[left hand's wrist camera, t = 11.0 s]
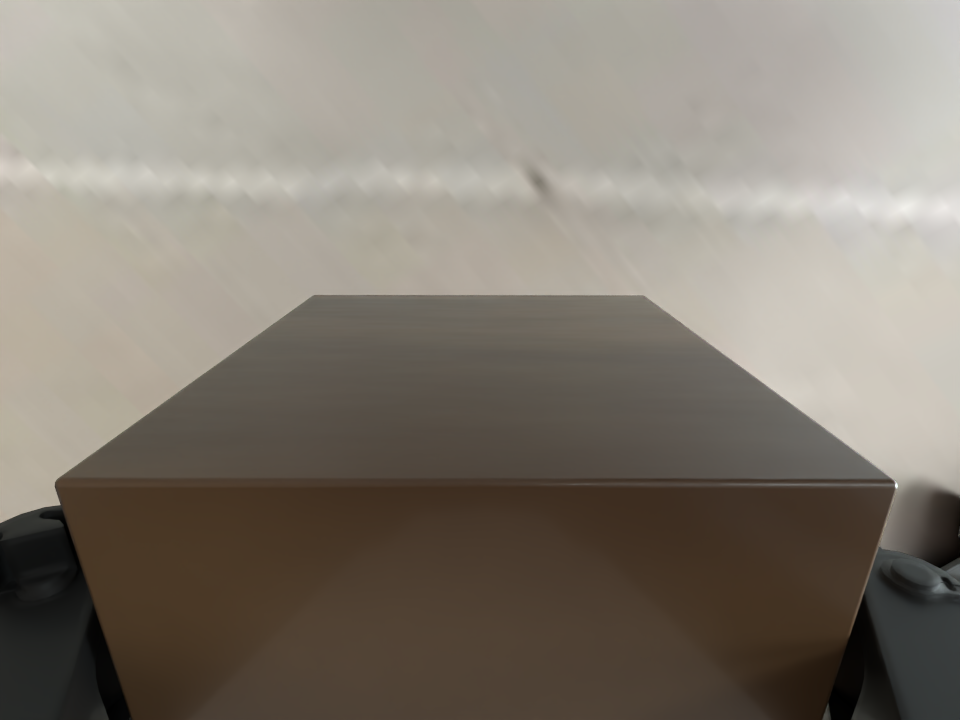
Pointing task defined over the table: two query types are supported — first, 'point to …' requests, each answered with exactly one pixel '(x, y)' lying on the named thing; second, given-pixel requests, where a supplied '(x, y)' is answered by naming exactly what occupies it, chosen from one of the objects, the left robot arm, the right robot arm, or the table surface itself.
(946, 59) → the table surface
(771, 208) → the table surface
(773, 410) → the box
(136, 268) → the table surface
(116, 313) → the table surface
